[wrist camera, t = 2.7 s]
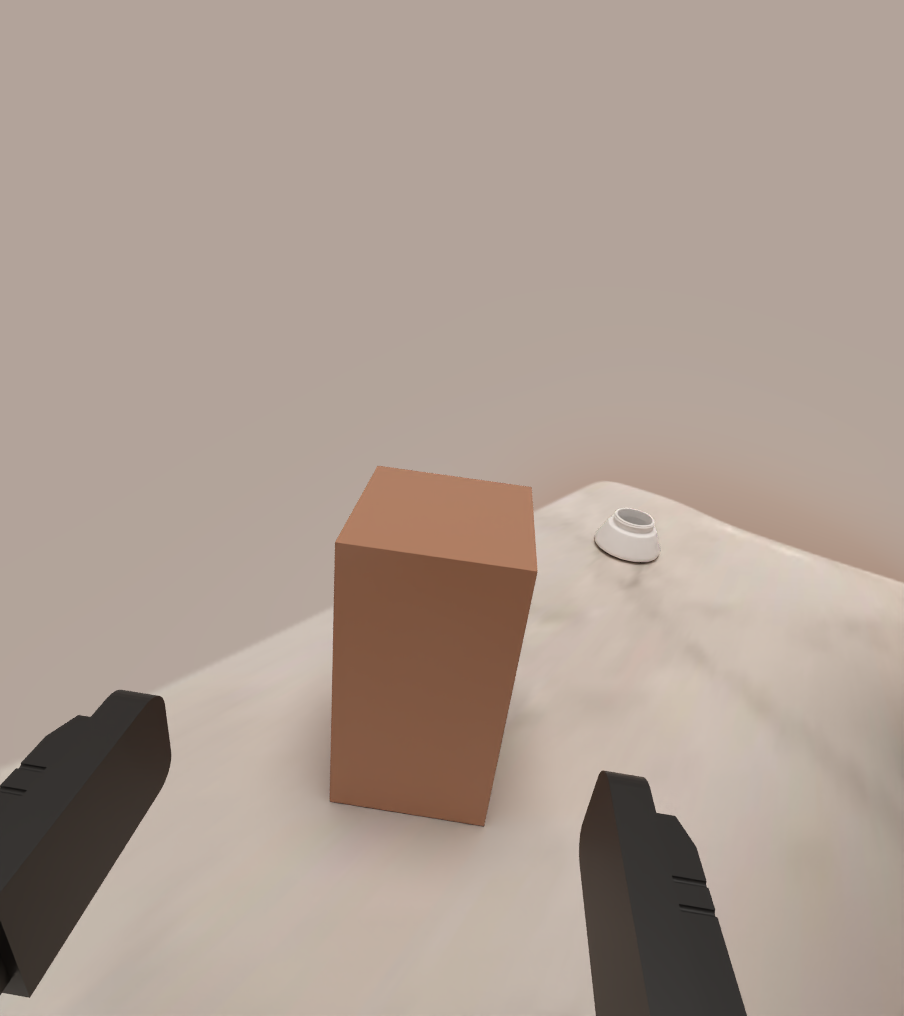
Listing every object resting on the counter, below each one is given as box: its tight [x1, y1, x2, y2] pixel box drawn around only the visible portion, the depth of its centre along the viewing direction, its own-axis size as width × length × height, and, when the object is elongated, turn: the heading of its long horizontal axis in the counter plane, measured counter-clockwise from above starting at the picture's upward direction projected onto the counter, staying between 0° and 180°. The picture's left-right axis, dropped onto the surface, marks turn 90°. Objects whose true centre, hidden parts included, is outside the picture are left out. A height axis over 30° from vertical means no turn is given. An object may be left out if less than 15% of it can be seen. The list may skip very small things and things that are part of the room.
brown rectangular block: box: [330, 466, 537, 826], centre depth 24 cm, size 6×6×12 cm
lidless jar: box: [595, 508, 661, 562], centre depth 45 cm, size 5×3×5 cm
